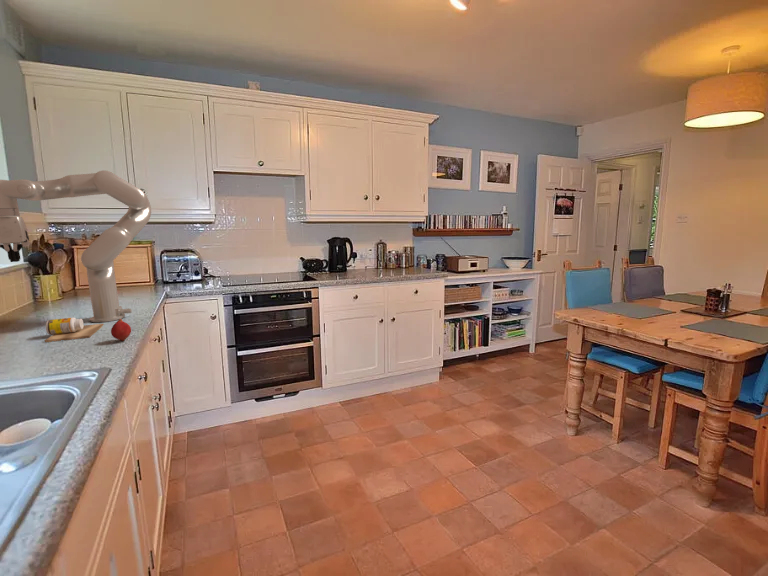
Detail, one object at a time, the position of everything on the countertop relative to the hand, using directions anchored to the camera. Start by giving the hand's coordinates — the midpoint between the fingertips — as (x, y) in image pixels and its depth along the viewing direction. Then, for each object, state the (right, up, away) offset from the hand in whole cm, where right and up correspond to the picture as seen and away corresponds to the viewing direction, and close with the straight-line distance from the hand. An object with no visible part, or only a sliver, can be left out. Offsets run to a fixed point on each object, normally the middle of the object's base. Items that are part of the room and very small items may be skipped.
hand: (15, 261), depth 150 cm
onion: (+51, -29, -14) cm, 60 cm away
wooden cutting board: (+26, -28, -3) cm, 38 cm away
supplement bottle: (+19, -25, -8) cm, 32 cm away
